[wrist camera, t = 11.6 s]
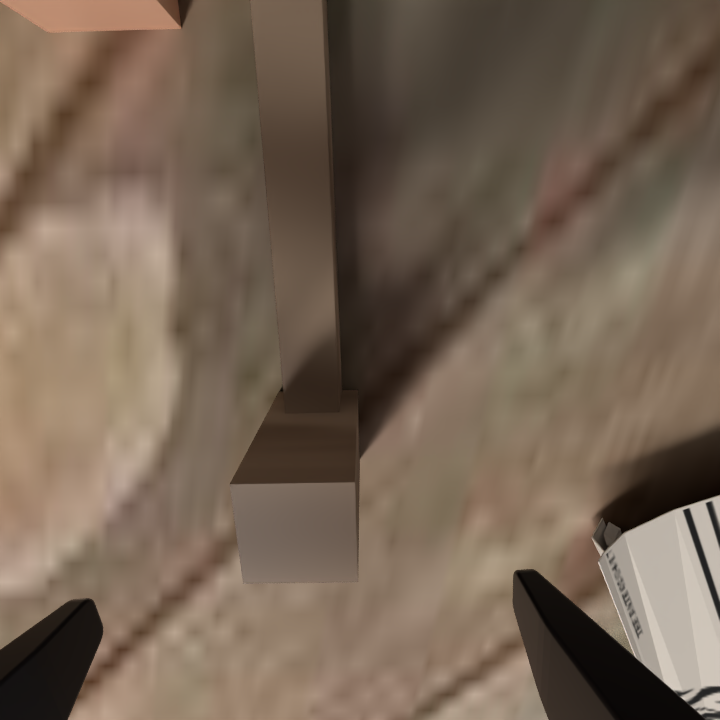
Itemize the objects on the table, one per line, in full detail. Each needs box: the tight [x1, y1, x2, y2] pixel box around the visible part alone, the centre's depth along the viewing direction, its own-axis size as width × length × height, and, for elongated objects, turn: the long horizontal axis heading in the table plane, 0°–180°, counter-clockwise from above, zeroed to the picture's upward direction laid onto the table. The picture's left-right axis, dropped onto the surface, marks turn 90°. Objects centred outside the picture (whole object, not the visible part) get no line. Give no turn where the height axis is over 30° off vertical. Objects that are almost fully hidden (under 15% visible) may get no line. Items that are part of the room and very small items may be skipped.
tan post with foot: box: [230, 0, 360, 584], centre depth 10 cm, size 20×7×6 cm, turn 1°
